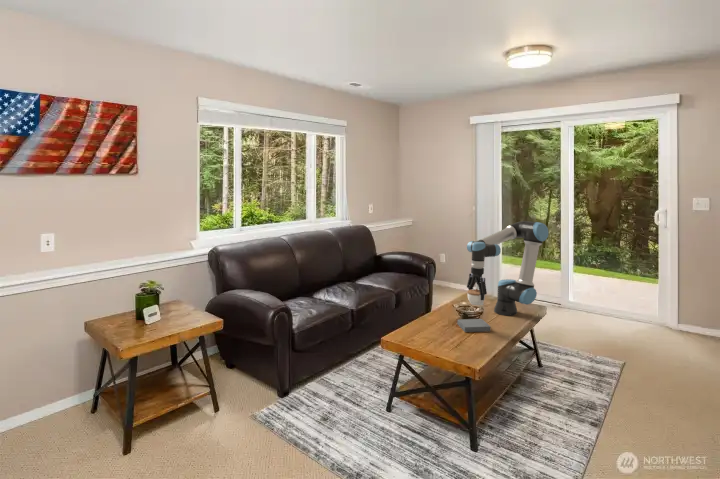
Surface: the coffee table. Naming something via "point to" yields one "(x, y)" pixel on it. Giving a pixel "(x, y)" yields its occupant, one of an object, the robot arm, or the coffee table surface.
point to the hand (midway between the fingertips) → (475, 302)
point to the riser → (473, 325)
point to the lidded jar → (474, 296)
